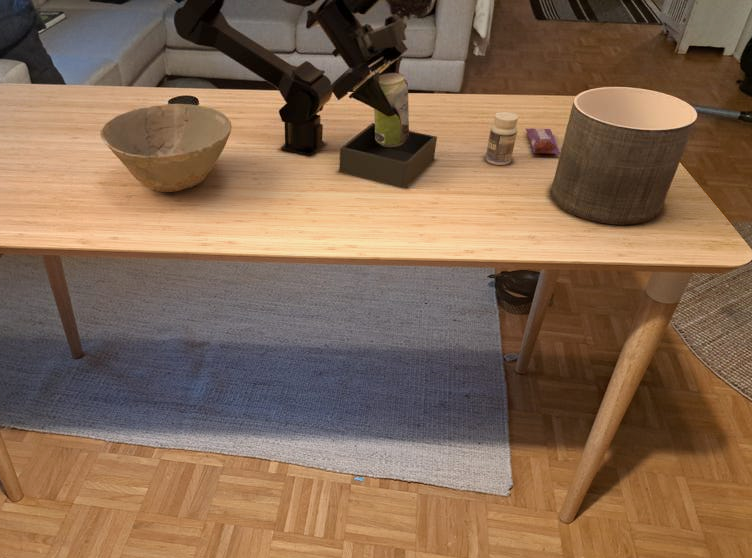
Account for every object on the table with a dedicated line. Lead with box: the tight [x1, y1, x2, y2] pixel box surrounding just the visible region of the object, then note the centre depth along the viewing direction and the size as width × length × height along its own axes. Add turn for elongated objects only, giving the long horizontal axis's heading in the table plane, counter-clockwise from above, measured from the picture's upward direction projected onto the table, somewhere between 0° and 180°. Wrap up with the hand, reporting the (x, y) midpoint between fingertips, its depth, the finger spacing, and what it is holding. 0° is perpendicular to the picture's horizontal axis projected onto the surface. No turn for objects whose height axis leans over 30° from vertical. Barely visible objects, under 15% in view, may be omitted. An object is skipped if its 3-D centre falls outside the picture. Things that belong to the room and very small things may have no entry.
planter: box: [550, 86, 698, 225], centre depth 110 cm, size 18×18×16 cm
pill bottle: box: [485, 111, 519, 166], centre depth 125 cm, size 5×5×8 cm
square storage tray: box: [338, 122, 438, 189], centre depth 125 cm, size 13×13×5 cm
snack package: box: [525, 127, 561, 155], centre depth 132 cm, size 12×2×5 cm
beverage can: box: [373, 72, 410, 147], centre depth 120 cm, size 6×7×12 cm
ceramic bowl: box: [99, 103, 232, 193], centre depth 120 cm, size 22×23×10 cm
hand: (398, 109), depth 119 cm, fingers closed on beverage can, 5 cm apart
